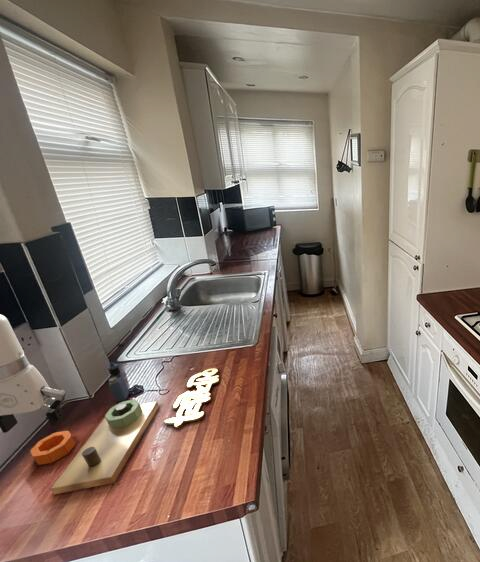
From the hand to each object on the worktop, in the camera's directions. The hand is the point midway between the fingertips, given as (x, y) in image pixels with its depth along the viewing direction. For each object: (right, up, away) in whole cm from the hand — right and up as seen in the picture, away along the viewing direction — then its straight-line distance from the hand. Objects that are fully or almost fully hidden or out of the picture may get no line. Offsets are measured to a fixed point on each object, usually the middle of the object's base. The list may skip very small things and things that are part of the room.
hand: (34, 424), depth 75 cm
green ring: (+13, -3, +11) cm, 18 cm away
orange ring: (+1, -9, +4) cm, 10 cm away
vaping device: (+4, -2, +22) cm, 22 cm away
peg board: (+15, -8, +5) cm, 18 cm away
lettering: (+28, -1, +21) cm, 35 cm away
